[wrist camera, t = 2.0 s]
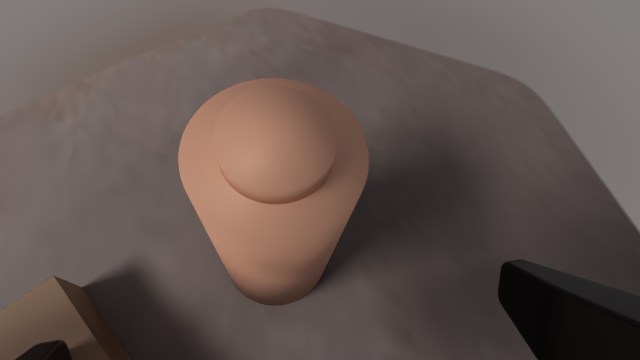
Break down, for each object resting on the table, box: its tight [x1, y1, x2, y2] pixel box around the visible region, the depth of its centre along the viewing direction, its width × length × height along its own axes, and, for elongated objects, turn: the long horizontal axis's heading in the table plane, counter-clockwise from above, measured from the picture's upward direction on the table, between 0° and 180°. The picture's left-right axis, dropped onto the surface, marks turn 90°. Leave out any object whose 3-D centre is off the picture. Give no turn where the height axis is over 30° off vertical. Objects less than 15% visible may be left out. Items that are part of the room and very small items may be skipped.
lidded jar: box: [178, 78, 369, 306], centre depth 15 cm, size 5×5×11 cm
